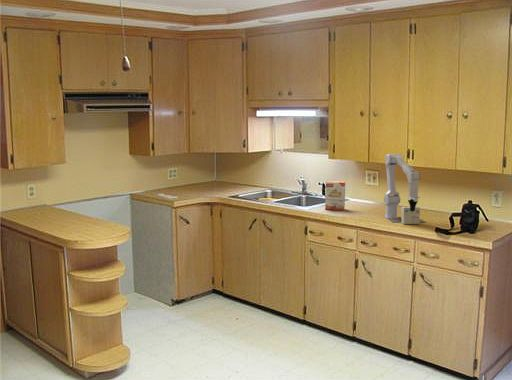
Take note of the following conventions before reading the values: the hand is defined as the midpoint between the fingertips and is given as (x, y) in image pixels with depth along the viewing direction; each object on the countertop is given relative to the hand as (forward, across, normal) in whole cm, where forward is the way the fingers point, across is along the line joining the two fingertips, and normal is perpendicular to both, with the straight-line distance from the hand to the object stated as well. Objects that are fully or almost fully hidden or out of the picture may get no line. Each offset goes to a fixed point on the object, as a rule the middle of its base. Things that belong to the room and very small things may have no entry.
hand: (412, 211), depth 356 cm
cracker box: (+8, +52, +43) cm, 68 cm away
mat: (+9, +11, 0) cm, 14 cm away
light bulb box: (+9, +3, 0) cm, 10 cm away
